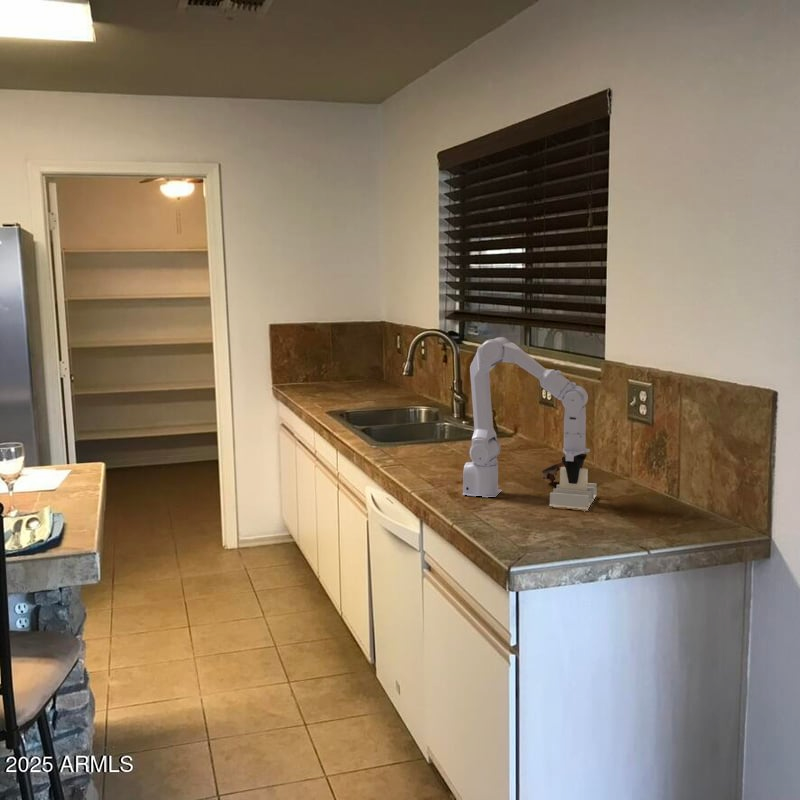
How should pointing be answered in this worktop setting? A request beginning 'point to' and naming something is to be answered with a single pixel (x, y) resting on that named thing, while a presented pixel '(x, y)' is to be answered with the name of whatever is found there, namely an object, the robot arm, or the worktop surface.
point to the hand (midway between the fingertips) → (573, 482)
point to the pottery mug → (552, 471)
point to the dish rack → (573, 497)
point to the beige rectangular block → (580, 484)
